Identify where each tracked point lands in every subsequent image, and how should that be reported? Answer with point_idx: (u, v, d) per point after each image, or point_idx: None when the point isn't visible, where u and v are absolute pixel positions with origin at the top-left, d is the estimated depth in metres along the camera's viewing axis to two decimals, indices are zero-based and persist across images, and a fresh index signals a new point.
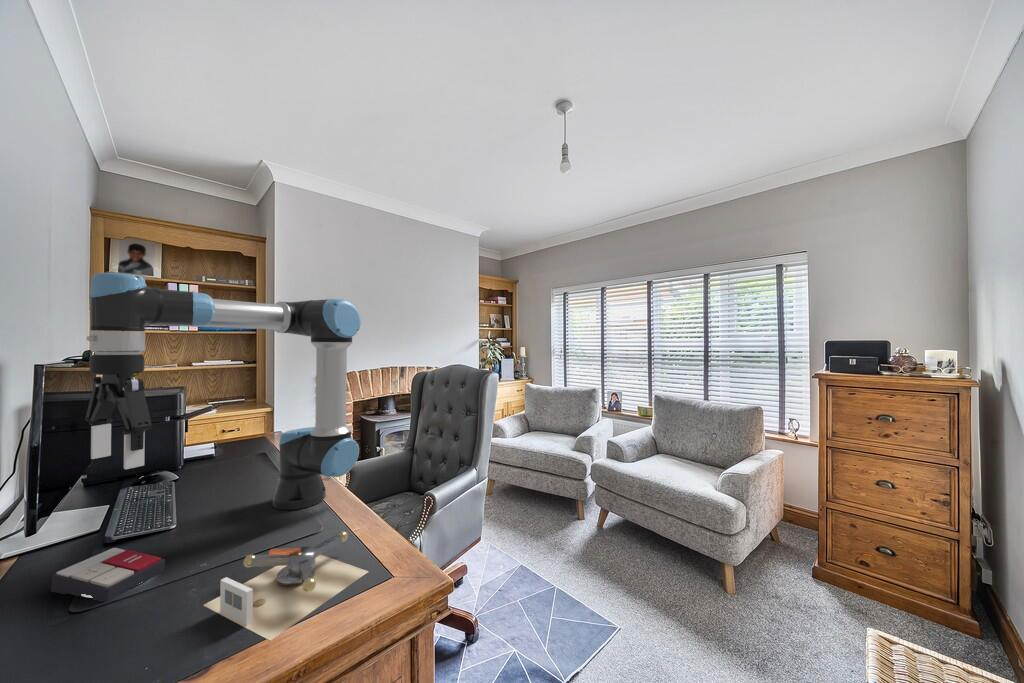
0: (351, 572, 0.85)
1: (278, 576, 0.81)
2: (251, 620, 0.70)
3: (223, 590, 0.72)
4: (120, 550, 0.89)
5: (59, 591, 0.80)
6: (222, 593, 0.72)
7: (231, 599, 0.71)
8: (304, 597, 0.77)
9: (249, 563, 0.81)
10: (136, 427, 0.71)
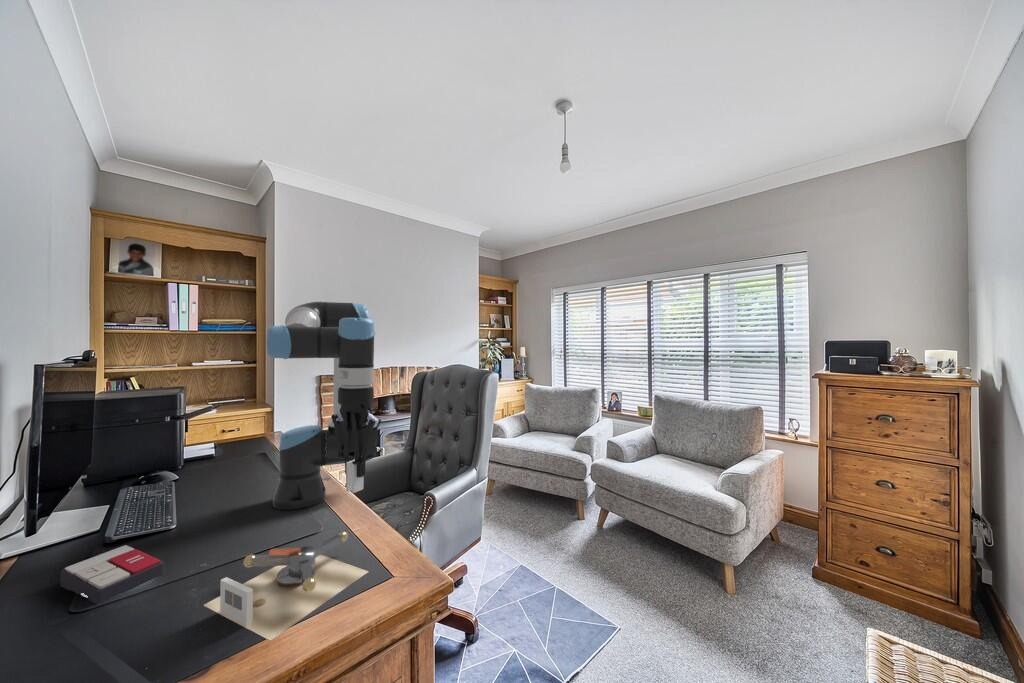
0: (351, 572, 0.85)
1: (278, 576, 0.81)
2: (251, 620, 0.70)
3: (223, 590, 0.72)
4: (129, 548, 0.90)
5: (65, 587, 0.81)
6: (222, 593, 0.72)
7: (231, 599, 0.71)
8: (304, 597, 0.77)
9: (249, 563, 0.81)
10: (365, 460, 0.86)
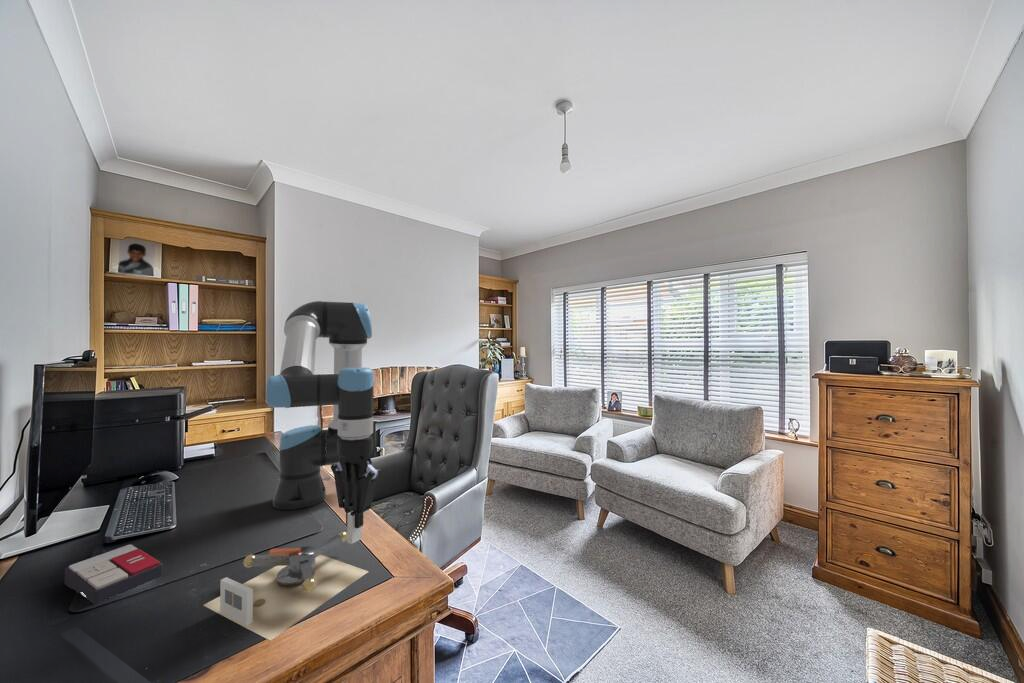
0: (351, 572, 0.85)
1: (278, 576, 0.81)
2: (251, 620, 0.70)
3: (223, 590, 0.72)
4: (133, 548, 0.90)
5: (68, 585, 0.82)
6: (222, 593, 0.72)
7: (231, 599, 0.71)
8: (304, 597, 0.77)
9: (249, 563, 0.81)
10: (363, 511, 0.86)
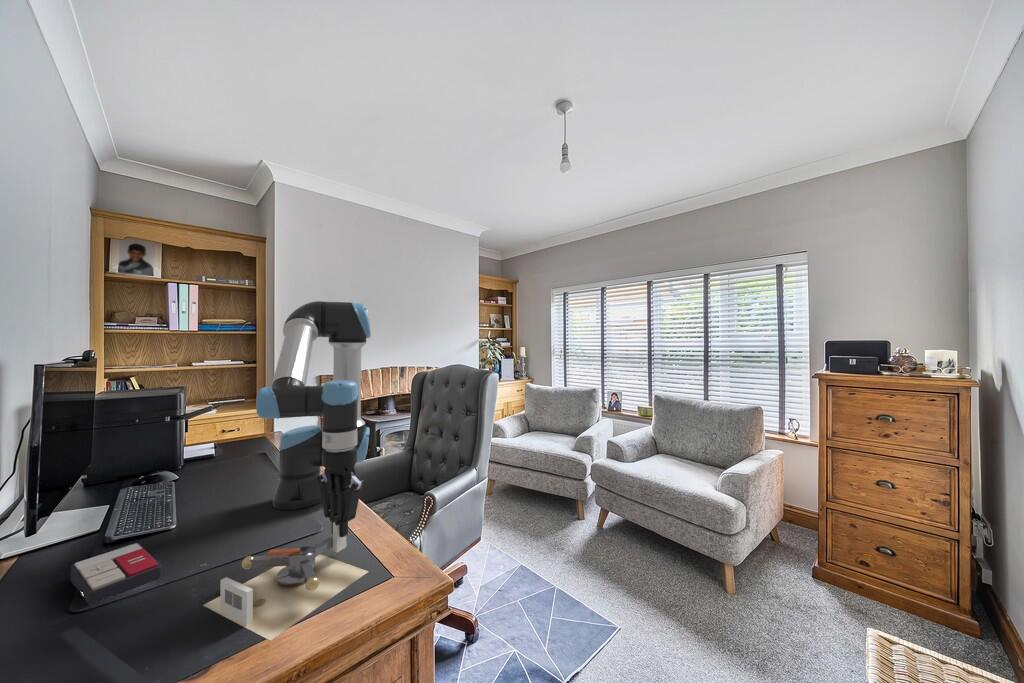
0: (351, 572, 0.85)
1: (278, 577, 0.81)
2: (251, 620, 0.70)
3: (223, 590, 0.72)
4: (137, 547, 0.91)
5: (73, 582, 0.82)
6: (222, 593, 0.72)
7: (231, 599, 0.71)
8: (304, 597, 0.77)
9: (248, 564, 0.81)
10: (347, 521, 0.88)
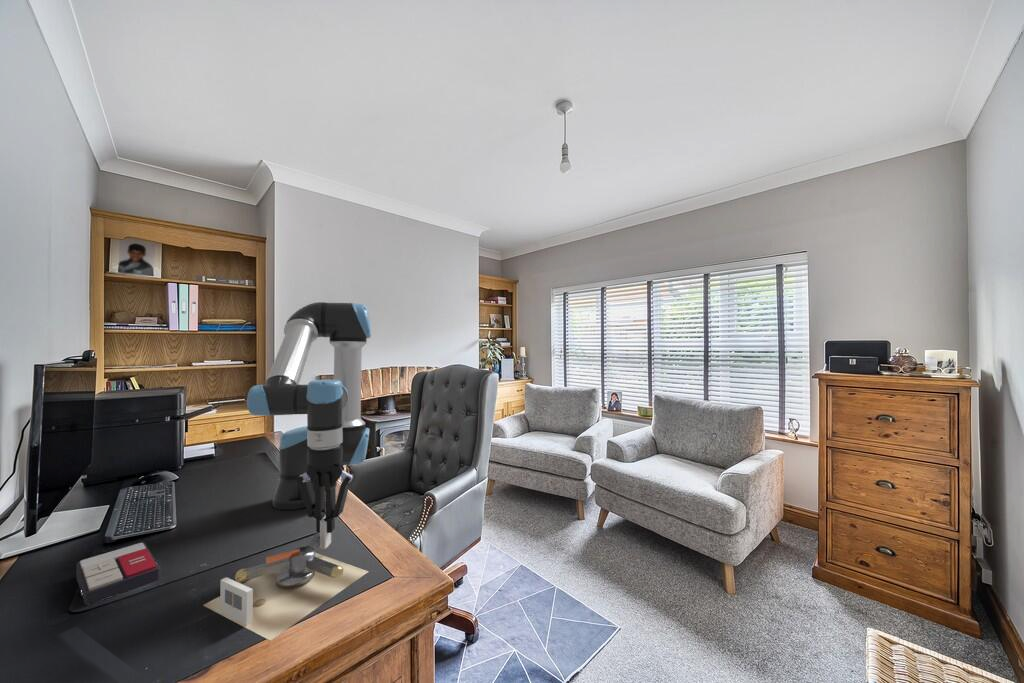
0: (351, 572, 0.85)
1: (281, 581, 0.79)
2: (251, 620, 0.70)
3: (223, 590, 0.72)
4: (142, 547, 0.91)
5: (77, 580, 0.83)
6: (222, 593, 0.72)
7: (231, 599, 0.71)
8: (304, 597, 0.77)
9: (244, 577, 0.77)
10: (338, 515, 0.91)
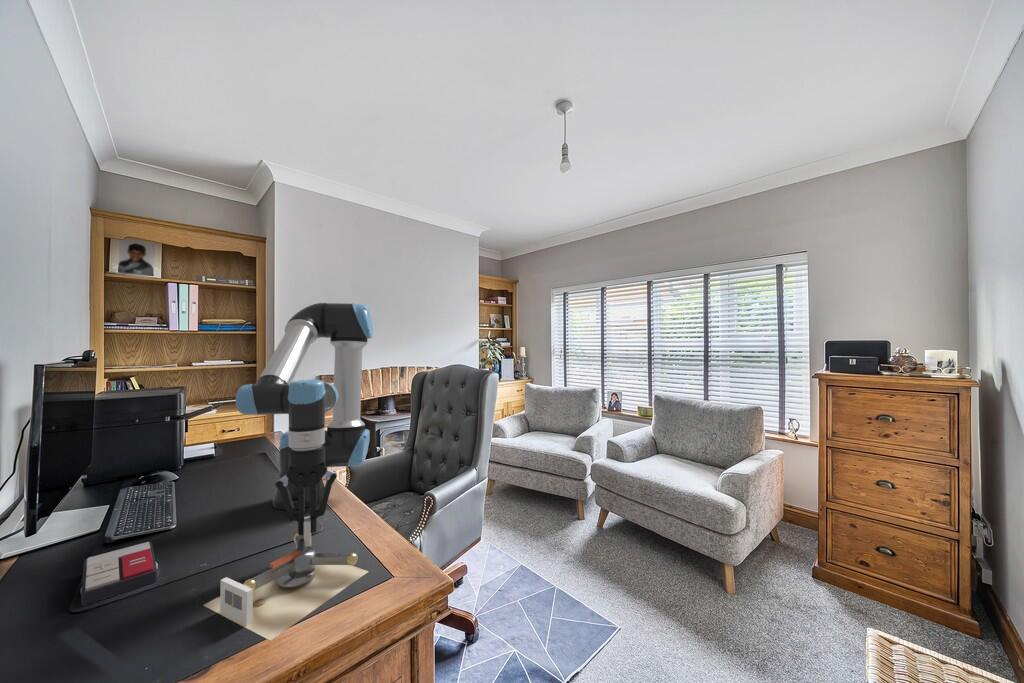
0: (351, 572, 0.85)
1: (288, 583, 0.79)
2: (251, 620, 0.70)
3: (223, 590, 0.72)
4: (147, 546, 0.91)
5: None
6: (222, 593, 0.72)
7: (231, 599, 0.71)
8: (304, 597, 0.77)
9: (255, 586, 0.74)
10: None
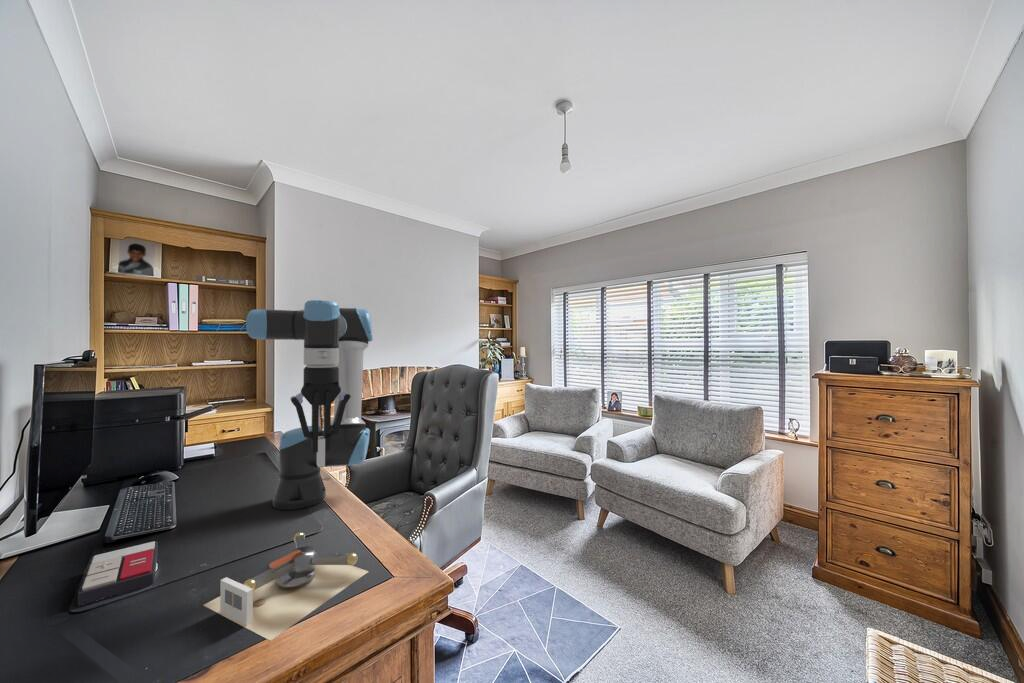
0: (351, 572, 0.85)
1: (288, 583, 0.79)
2: (251, 620, 0.70)
3: (223, 590, 0.72)
4: (151, 546, 0.91)
5: None
6: (222, 593, 0.72)
7: (231, 599, 0.71)
8: (304, 597, 0.77)
9: (255, 586, 0.74)
10: (338, 432, 0.94)
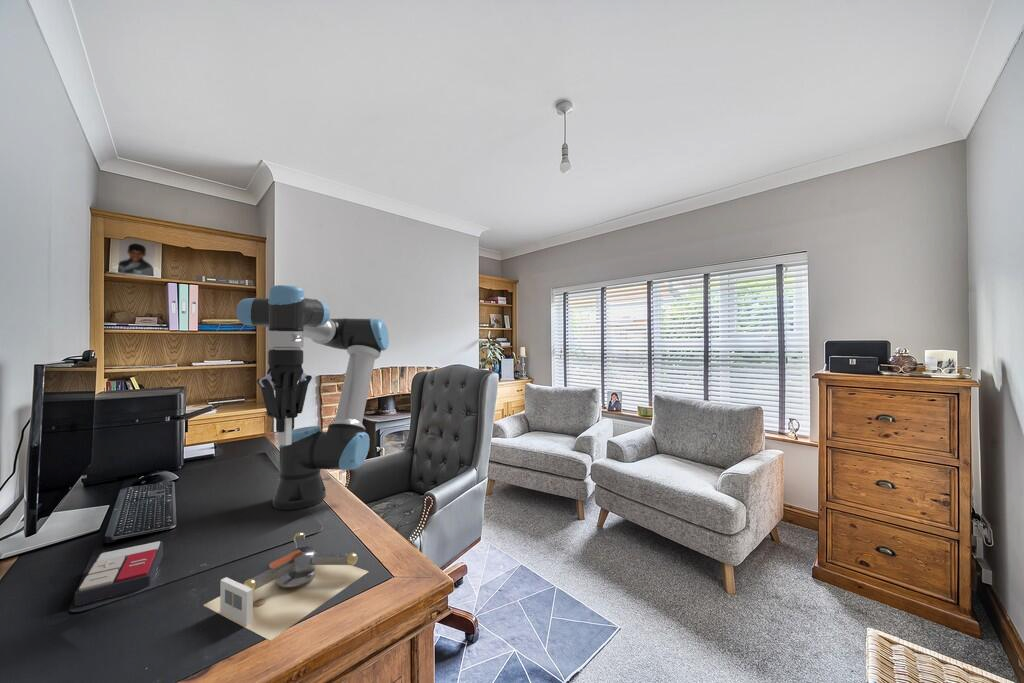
0: (351, 572, 0.85)
1: (288, 583, 0.79)
2: (251, 620, 0.70)
3: (223, 590, 0.72)
4: (155, 546, 0.91)
5: None
6: (222, 593, 0.72)
7: (231, 599, 0.71)
8: (304, 597, 0.77)
9: (255, 586, 0.74)
10: (301, 411, 0.99)
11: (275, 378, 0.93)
